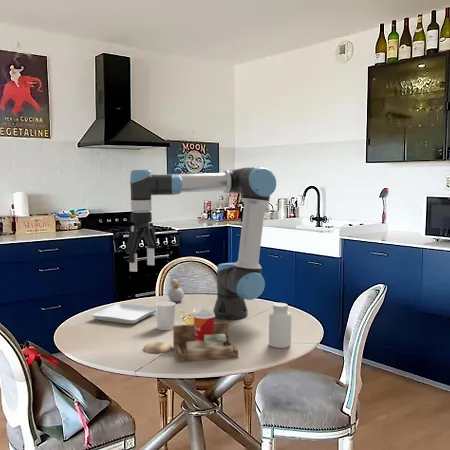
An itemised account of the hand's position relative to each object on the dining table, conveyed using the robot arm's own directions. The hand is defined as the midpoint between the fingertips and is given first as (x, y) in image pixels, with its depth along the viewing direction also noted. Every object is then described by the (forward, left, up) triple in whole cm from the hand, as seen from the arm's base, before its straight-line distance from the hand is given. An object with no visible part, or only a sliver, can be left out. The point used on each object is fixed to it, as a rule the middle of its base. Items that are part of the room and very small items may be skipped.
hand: (142, 268), depth 193 cm
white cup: (-10, -10, -27) cm, 30 cm away
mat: (-4, +14, -27) cm, 30 cm away
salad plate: (+5, -29, -27) cm, 40 cm away
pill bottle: (-48, +20, -27) cm, 58 cm away
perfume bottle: (-20, -51, -27) cm, 61 cm away
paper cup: (-20, +20, -27) cm, 39 cm away
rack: (-20, +21, -27) cm, 39 cm away
